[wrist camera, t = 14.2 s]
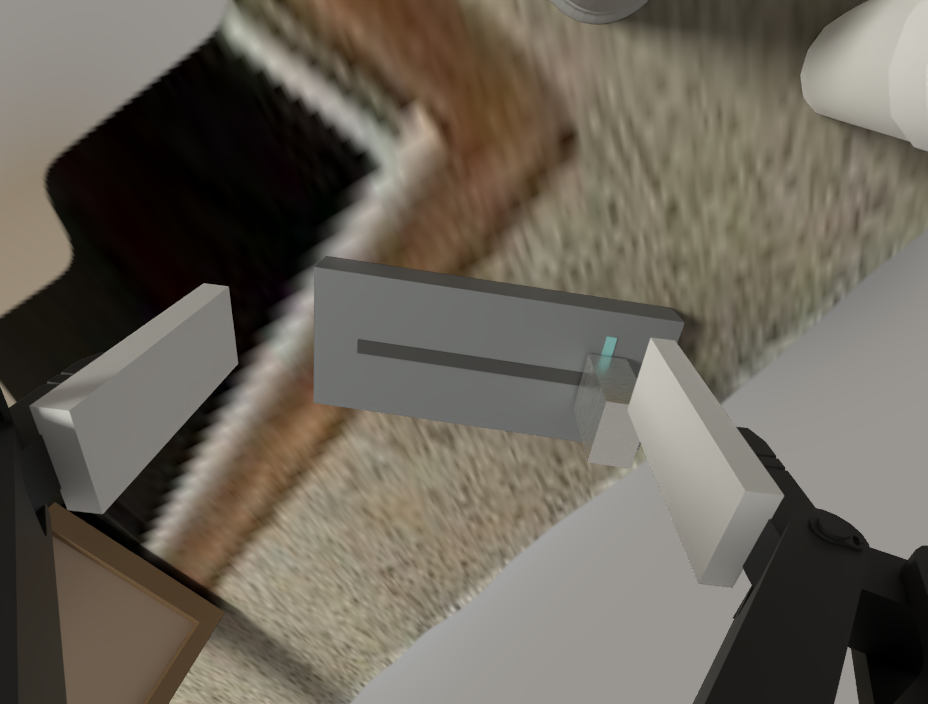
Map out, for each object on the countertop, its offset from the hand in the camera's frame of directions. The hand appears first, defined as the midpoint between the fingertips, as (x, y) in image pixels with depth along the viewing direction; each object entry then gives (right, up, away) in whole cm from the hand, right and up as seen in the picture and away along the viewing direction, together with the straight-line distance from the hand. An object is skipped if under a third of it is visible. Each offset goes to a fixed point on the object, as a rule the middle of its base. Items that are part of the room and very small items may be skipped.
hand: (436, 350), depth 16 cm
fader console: (+3, 0, +27) cm, 27 cm away
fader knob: (+12, -3, +24) cm, 27 cm away
